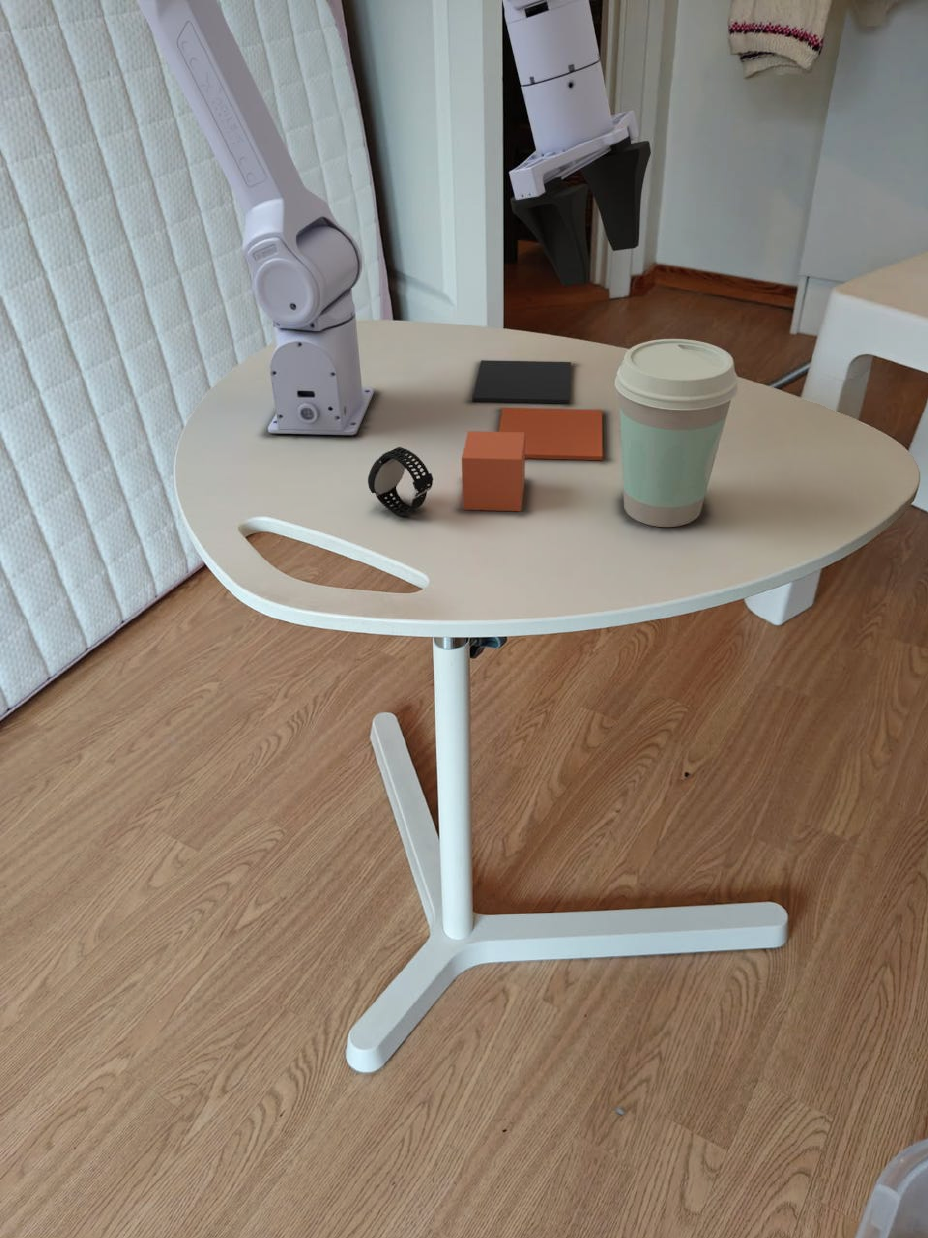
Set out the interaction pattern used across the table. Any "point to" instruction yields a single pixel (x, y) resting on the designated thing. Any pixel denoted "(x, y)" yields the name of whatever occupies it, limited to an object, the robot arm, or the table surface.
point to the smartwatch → (398, 480)
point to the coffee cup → (671, 426)
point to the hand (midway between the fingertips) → (601, 265)
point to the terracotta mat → (556, 432)
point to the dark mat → (523, 382)
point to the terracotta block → (493, 471)
